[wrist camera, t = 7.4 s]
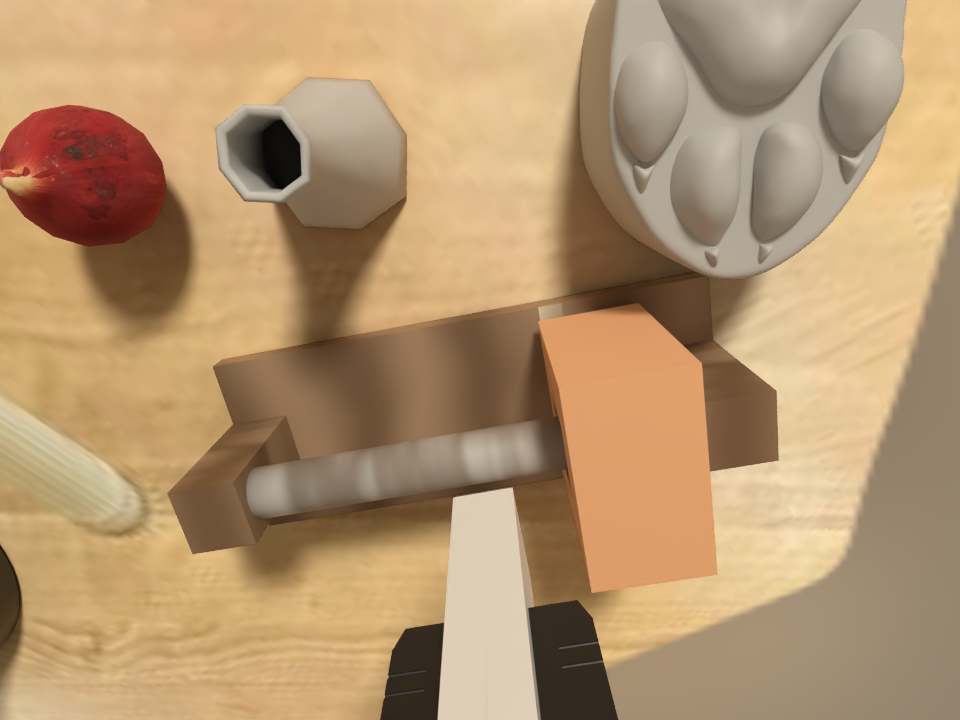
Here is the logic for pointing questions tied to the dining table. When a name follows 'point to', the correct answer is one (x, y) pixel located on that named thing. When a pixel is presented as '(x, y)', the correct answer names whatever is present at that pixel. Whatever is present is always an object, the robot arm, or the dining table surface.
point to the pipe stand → (432, 414)
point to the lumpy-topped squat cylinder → (735, 120)
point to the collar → (632, 446)
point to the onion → (83, 175)
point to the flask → (318, 153)
